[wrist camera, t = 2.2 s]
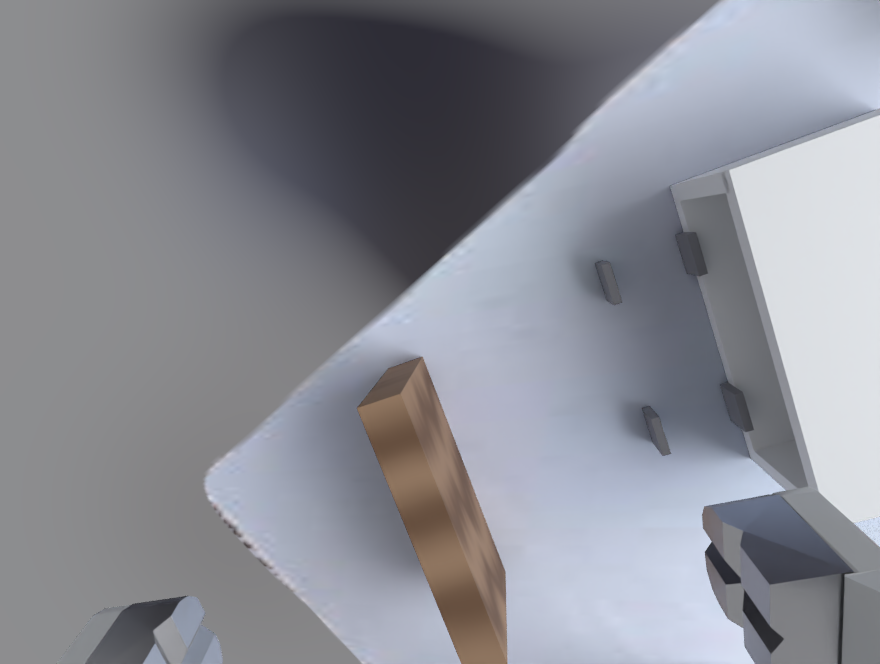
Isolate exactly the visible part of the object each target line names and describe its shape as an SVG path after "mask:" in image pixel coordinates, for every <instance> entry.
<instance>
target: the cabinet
mask: <svg viewBox="0 0 880 664" xmlns="http://www.w3.org/2000/svg"><path fill="white" fill-rule="evenodd" d="M670 188H671V191H672V195H673V198H674V202H675V205H676V208H677V212H678V215H679V218H680V222H681V225H682V229H683V232H682V233H679V234H677V235H675V236H676V239H677V242H678V246H679V249H680V252H681V256H682V259H683V262H684V266H685V269H686V272H687V274H691V275H695V276H697V279H698V282H699V286H700V289H701V293H702V296H703V299H704V303H705V306H706V309H707V313H708V316H709V320H710V323H711V326H712V330H713V333H714V336H715V340H716V343H717V347H718V350H719V353H720V357H721V360H722V363H723V367H724V370H725V373H726V377H727V380H728V383H724V384H721V385H720V386H721V389H722V393H723V396H724V399H725V403H726V406H727V409H728V413H729V416H730V420H731V421H732V422H733V423H735V424H736V425H737V426H738V427H740V428H741V429H742V431H743V434H744V438H745V441H746V444H747V448H748V451H749V454H750V458H751V459H752V460H753V461H754V462H755V463H756V464H757V465H758V466H759V467H761V468H762V469H763V470H764V471H765V472H766V473H767V474H768V475H769V476H771V477H772V478H773V479H774V480H775V481H776V482H777V483H778V484H779V485H781V486H782V487H783V488H784V489H785V490H786V491H787V490H792V489H797V488H802V487H807V486H808V487H810V488H813V489H815V490H817V491H818V492H819V493H820V494H822V495H823V496H824V497H825V498H826V499H827V500H828V501H829V502H830V503H832V504H833V505H834V506H835V507H836V508H837V509H838V510H839V511H840V512H842V513H843V514H844V515H845V516H846V517H847V518H848V519H849V520H850V521H852V522H853V523H857V522H861V521H865V520H869V519H873V518H877V517H880V109H877V110H874V111H872V112H869V113H866V114H863V115H861V116H858V117H855V118H853V119H850V120H847V121H844V122H842V123H839V124H836V125H834V126H831V127H828V128H825V129H823V130H820V131H817V132H815V133H812V134H809V135H806V136H804V137H801V138H798V139H796V140H793V141H790V142H787V143H785V144H782V145H779V146H777V147H774V148H771V149H768V150H766V151H763V152H760V153H757V154H755V155H752V156H749V157H747V158H744V159H741V160H738V161H736V162H733V163H730V164H728V165H725V166H722V167H719V168H717V169H714V170H711V171H709V172H706V173H703V174H700V175H698V176H695V177H692V178H690V179H687V180H684V181H681V182H679V183H676V184H673V185H671V186H670ZM595 265H596V268H597V271H598V274H599V277H600V280H601V283H602V286H603V290H604V293H605V296H606V299H607V301H608V302H610V303H612V304H613V305H616V304H619V303H622V299H621V296H620V293H619V290H618V287H617V283H616V280H615V277H614V274H613V271H612V268H611V265H610V262H606V261H600V262H597V263H595ZM642 410H643V413H644V416H645V419H646V422H647V425H648V429H649V432H650V435H651V438H652V441H653V443H654V445H655V446H656V447H657V449H658V450H659V452H660V453H661V454H662V456H665V455H668V454H671V452H670V449H669V446H668V443H667V440H666V437H665V434H664V431H663V427H662V424H661V421H660V418H659V416H658V415H657V414H656V413H655V412H654V411H653V409H652V408H651V407H650V406H648V407H645V408H642Z"/></svg>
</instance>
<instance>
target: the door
mask: <svg viewBox="0 0 880 664" xmlns="http://www.w3.org/2000/svg"><path fill="white" fill-rule="evenodd" d="M357 410H358V412H359V415H360V417H361V420H362V422H363V425H364V427H365V430H366V432H367V434H368V437H369V439H370V442H371V444H372V447H373V449H374V452H375V454H376V456H377V459H378V461H379V464H380V466H381V469H382V471H383V473H384V476H385V478H386V481H387V483H388V486H389V488H390V491H391V493H392V495H393V498H394V500H395V503H396V505H397V508H398V510H399V513H400V515H401V517H402V520H403V522H404V525H405V527H406V530H407V532H408V535H409V537H410V539H411V542H412V544H413V547H414V549H415V552H416V554H417V556H418V559H419V561H420V564H421V566H422V569H423V571H424V574H425V576H426V578H427V581H428V583H429V586H430V588H431V591H432V593H433V596H434V598H435V600H436V603H437V605H438V608H439V610H440V613H441V615H442V617H443V620H444V622H445V625H446V627H447V630H448V632H449V635H450V637H451V639H452V642H453V644H454V647H455V649H456V652H457V654H458V657H459V659H460V661H461V664H507V624H506V581H505V570H504V567H503V565H502V562H501V559H500V557H499V554H498V552H497V549H496V546H495V544H494V541H493V539H492V536H491V533H490V531H489V528H488V526H487V523H486V520H485V518H484V515H483V513H482V510H481V507H480V505H479V502H478V500H477V497H476V494H475V492H474V489H473V487H472V484H471V481H470V479H469V476H468V474H467V471H466V468H465V466H464V463H463V461H462V458H461V455H460V453H459V450H458V448H457V445H456V442H455V440H454V437H453V435H452V432H451V429H450V427H449V424H448V422H447V419H446V417H445V414H444V411H443V409H442V406H441V404H440V401H439V398H438V396H437V393H436V391H435V388H434V385H433V383H432V380H431V378H430V375H429V372H428V370H427V367H426V365H425V362H424V359H423V357H420V358H417V359H414V360H412V361H409V362H406V363H403V364H400V365H397V366H394V367H391V368H388V370H387V371H386V372H385V373H384V375H383V376H382V377H381V378H380V380H379V381H378V382H377V383H376V385H375V386H374V387H373V388H372V390H371V391H370V392H369V394H368V395H367V396H366V397H365V399H364V400H363V401H362V402H361V404H360V405H359V406H358V407H357Z"/></svg>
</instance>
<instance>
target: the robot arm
mask: <svg viewBox="0 0 880 664" xmlns="http://www.w3.org/2000/svg"><path fill="white" fill-rule="evenodd" d="M702 518H703V529H704V530H705V532H706V533H707V535H708V536H709V538H710V539H711V541H712V542H711V544H710V545H709V547H708V548H707V550H706V551H705V558H706V567H707V572H708V576H709V579H710V583H711V586H712V589H713V591H714V594H715V596H716V598H717V600H718V602H719V604H720V606H721V608H722V610H723V611H724V613H725V615H726V616H727V618H728V619H729V620H731V621H732V622H734V623H736V624H737V625H739V626H741V627H742V628H744V645H745V648H746V650H747V651H748V653H749V654H750V656H751V658H752V659H753V661H754V663H755V664H880V547H879V546H878V545H877V544H876V543H875V542H874V541H873V540H871V539H870V538H869V537H868V536H867V535H866V534H865V533H864V532H863V531H861V530H860V529H859V528H858V527H857V526H856V525H855V524H854V523H853V522H852V521H850V520H849V519H848V518H847V517H846V516H845V515H844V514H843V513H842V512H840V511H839V510H838V509H837V508H836V507H835V506H834V505H833V504H832V503H830V502H829V501H828V500H827V499H826V498H825V497H824V496H823V495H822V494H820V493H819V492H818V491H817V490H815V489H813V488H810V487H808V486H807V487H802V488H797V489H792V490H787V491H782V492H777V493H773V494H772V495H764V496H759V497H753V498H747V499H742V500H736V501H731V502H725V503H720V504H714V505H709V506H704V510H703V514H702ZM204 616H205V611H204V609H203V607H202V606H201V604H200V602H199V600H198V598H196V597H192V596H183V597H177V598H169V599H163V600H156V601H149V602H142V603H135V604H132V605H126V606H119V607H112V608H105V609H103V610H102V611H100V612H98V613H96V614H95V615H93V616H92V618H91V619H90V620H89V621H88V623H87V624H86V625H85V627H84V628H83V630H82V631H81V632H80V633H79V635H78V636H77V637H76V639H75V640H74V641H73V642H72V644H71V645H70V646H69V648H68V649H67V651H66V652H65V653H64V654H63V656H62V657H61V658H60V660H59V661H58V662H57V664H222V663H223V658H222V652H221V647H220V643H219V641H218V639H217V637H216V634H215V633H214V632H212V631H210V630H209V629H207V628H206V627H204V626H203V625H201V624H202V621H203V619H204Z"/></svg>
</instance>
